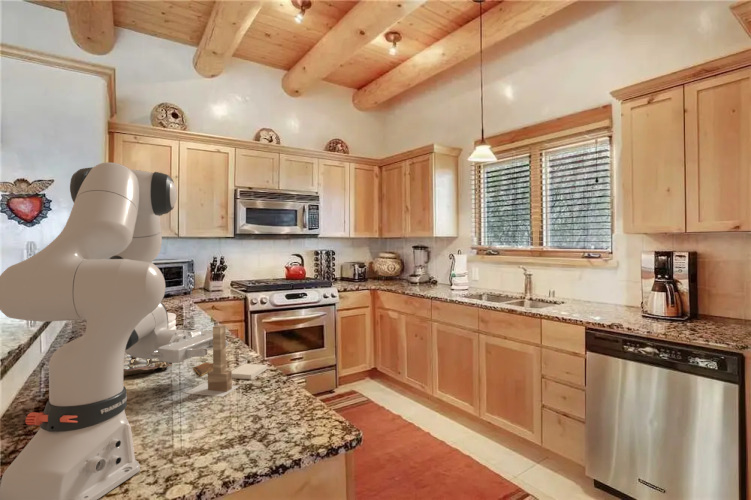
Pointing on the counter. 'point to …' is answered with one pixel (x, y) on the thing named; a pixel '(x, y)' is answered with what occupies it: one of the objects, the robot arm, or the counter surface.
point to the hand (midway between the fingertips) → (216, 348)
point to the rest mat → (204, 390)
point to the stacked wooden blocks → (219, 362)
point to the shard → (204, 368)
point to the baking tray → (142, 365)
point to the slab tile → (248, 371)
